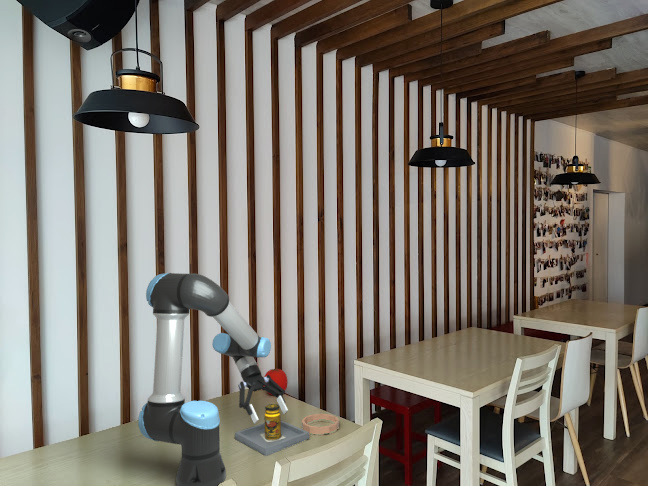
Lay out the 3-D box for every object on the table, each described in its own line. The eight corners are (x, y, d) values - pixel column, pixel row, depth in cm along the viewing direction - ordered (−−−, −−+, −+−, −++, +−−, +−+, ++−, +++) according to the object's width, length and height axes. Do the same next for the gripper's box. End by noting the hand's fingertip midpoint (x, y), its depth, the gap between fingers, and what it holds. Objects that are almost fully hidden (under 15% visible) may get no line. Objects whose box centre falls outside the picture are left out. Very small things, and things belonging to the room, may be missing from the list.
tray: (265, 456, 167) (265, 448, 167) (234, 439, 181) (234, 432, 181) (309, 439, 180) (309, 432, 180) (277, 424, 195) (277, 418, 195)
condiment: (267, 442, 176) (267, 410, 176) (259, 434, 183) (258, 403, 183) (286, 438, 179) (285, 406, 179) (277, 430, 187) (276, 400, 186)
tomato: (279, 389, 241) (278, 364, 241) (292, 394, 232) (292, 368, 232) (258, 394, 233) (257, 368, 233) (271, 400, 224) (270, 373, 224)
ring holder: (319, 438, 180) (318, 430, 180) (294, 427, 191) (294, 420, 191) (346, 427, 190) (346, 420, 190) (321, 418, 201) (321, 411, 201)
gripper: (270, 368, 203) (293, 413, 192) (217, 381, 186) (239, 431, 175) (277, 358, 199) (301, 403, 188) (224, 370, 182) (247, 420, 171)
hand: (271, 416), depth 181 cm, fingers open, 13 cm apart
